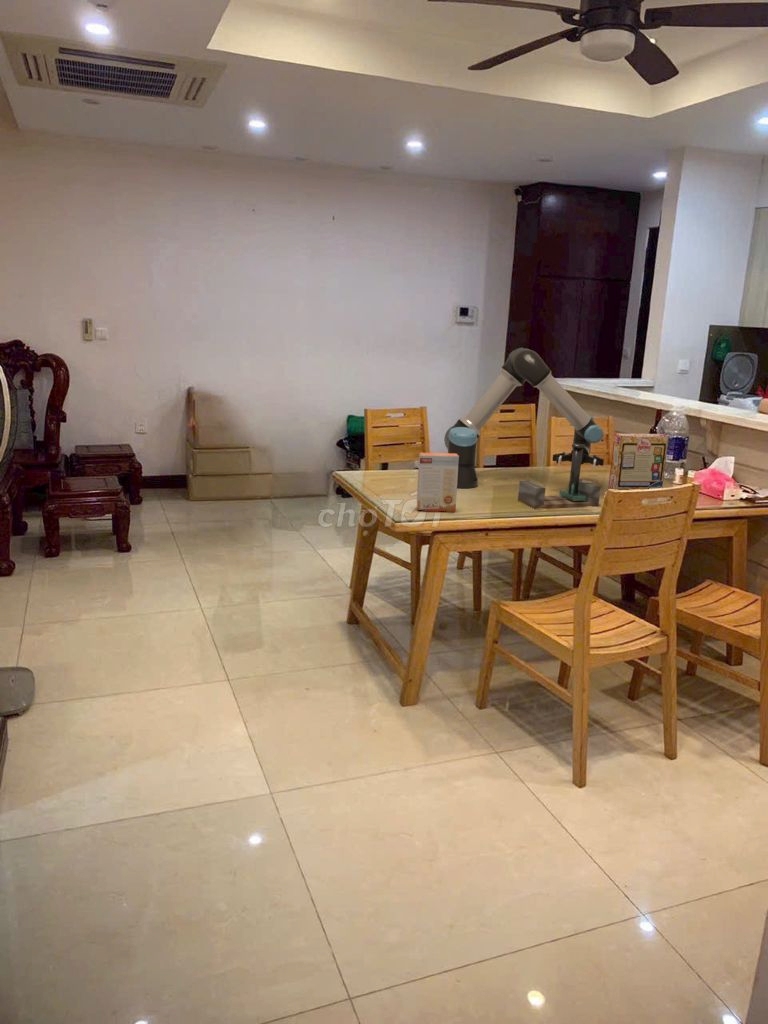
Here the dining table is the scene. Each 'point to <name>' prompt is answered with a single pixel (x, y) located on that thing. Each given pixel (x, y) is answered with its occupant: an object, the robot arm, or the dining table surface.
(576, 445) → the green pole stand
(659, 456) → the board game box
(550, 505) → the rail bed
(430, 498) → the cracker box
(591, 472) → the dining table surface
